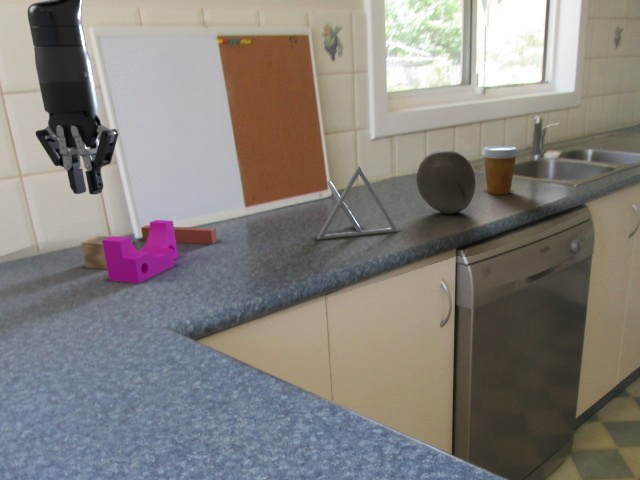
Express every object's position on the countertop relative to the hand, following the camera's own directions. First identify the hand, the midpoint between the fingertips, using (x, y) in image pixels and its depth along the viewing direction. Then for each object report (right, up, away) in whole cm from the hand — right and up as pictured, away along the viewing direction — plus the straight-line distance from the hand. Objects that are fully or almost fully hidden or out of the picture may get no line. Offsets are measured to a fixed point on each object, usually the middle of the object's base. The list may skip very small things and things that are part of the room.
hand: (87, 192), depth 105 cm
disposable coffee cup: (+77, +12, +77) cm, 110 cm away
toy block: (+3, -12, +18) cm, 22 cm away
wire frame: (+39, -2, +41) cm, 57 cm away
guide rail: (+3, -5, +36) cm, 36 cm away
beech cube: (-7, -10, +21) cm, 24 cm away
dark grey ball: (+61, +4, +55) cm, 82 cm away
